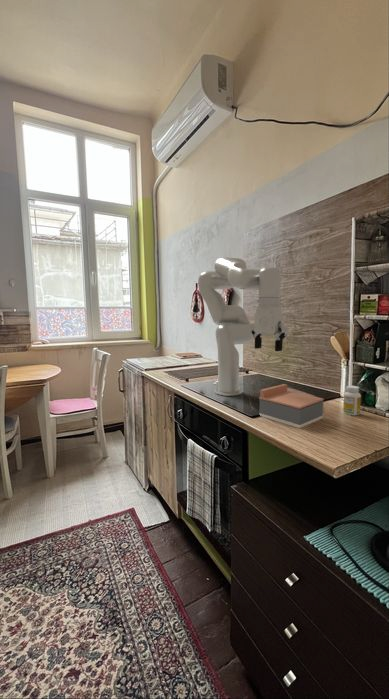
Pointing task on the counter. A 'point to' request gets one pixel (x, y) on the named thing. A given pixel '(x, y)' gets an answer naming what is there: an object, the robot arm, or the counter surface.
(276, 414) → the tray
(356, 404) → the supplement bottle
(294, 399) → the mailer lid
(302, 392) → the packaged product
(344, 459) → the counter surface
